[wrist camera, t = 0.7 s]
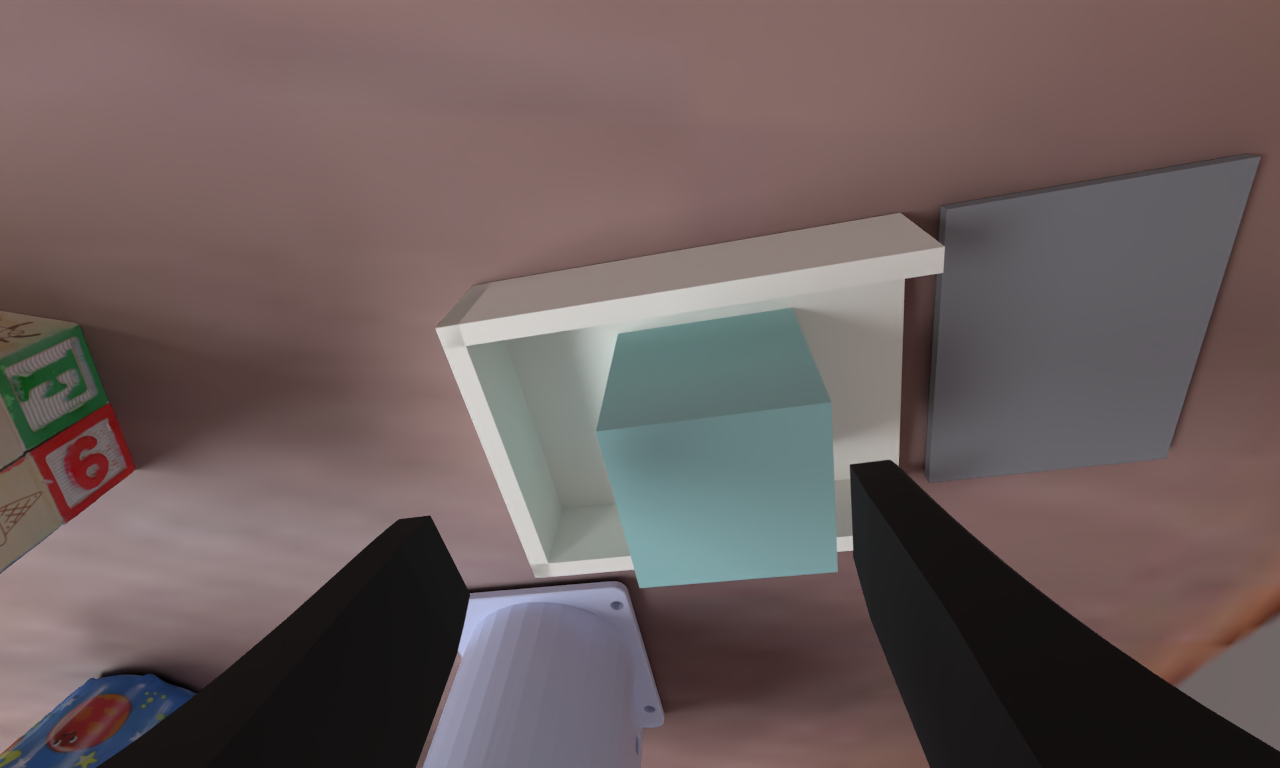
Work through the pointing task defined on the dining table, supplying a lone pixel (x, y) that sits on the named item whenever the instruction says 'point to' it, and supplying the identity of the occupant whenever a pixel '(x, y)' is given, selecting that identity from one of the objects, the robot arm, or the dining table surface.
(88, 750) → the snack cup
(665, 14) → the dining table surface
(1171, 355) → the charcoal mat
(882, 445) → the open box
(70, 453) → the stack of blocks
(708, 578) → the teal block
